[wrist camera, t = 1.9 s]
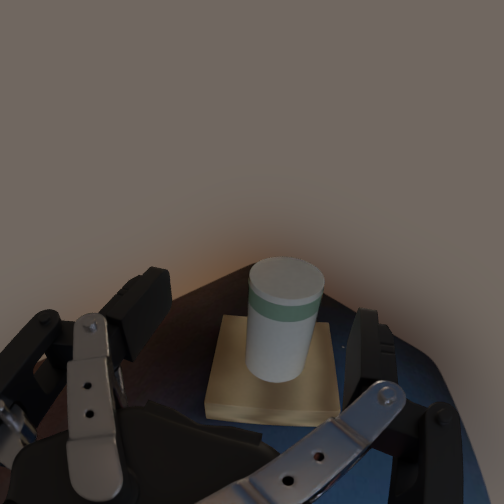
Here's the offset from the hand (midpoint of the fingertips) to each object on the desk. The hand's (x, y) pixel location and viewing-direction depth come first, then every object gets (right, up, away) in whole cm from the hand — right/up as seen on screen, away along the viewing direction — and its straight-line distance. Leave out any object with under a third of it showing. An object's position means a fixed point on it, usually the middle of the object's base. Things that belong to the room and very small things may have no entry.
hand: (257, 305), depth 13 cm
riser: (+2, -11, +19) cm, 22 cm away
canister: (+2, -8, +17) cm, 19 cm away
